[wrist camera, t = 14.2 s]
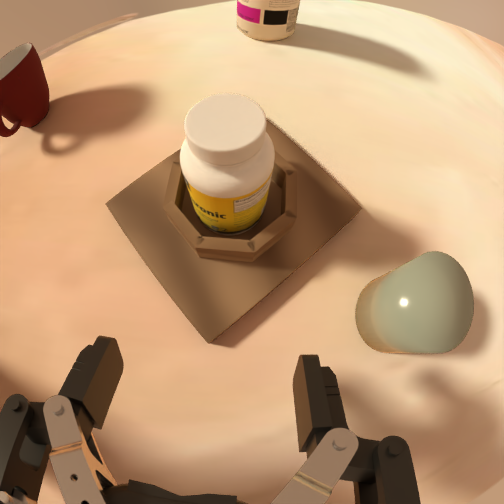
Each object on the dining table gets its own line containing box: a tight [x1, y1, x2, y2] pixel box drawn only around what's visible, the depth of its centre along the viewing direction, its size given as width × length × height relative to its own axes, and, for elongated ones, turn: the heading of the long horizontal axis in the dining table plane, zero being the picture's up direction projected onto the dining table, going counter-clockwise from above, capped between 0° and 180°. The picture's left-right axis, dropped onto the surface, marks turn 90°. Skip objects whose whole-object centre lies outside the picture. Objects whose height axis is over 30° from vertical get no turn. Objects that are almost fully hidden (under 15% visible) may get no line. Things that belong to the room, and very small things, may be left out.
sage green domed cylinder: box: [355, 251, 474, 353], centre depth 18 cm, size 6×6×7 cm
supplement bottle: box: [180, 93, 275, 235], centre depth 17 cm, size 5×5×10 cm
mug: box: [0, 43, 49, 137], centre depth 21 cm, size 11×8×10 cm
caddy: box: [106, 119, 362, 344], centre depth 22 cm, size 16×14×4 cm
